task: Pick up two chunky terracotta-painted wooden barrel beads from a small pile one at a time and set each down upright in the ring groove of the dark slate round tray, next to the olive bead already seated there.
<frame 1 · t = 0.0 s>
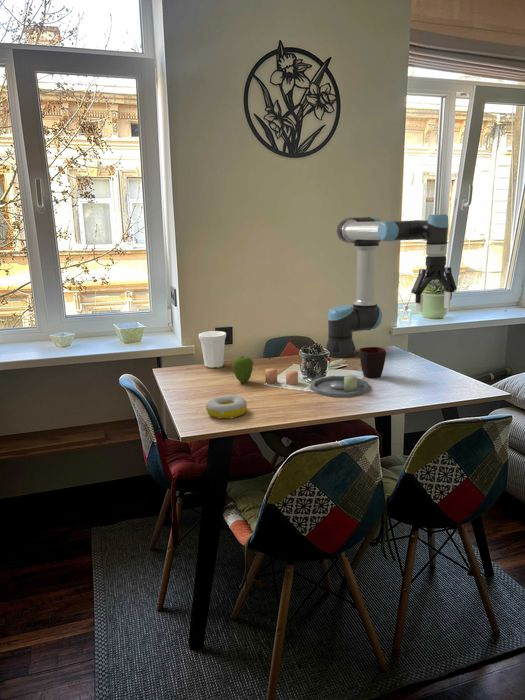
hand: (433, 309, 201), 28 cm above the table, fingers open, 13 cm apart
donut: (226, 413, 175), on the table
terracotta bead 2: (271, 382, 206), on the table
cup: (214, 366, 233), on the table
groove tray: (339, 389, 195), on the table
mug: (370, 377, 210), on the table
olive bead: (350, 391, 189), point 1 cm above the table, touching groove tray
terracotta bead 1: (292, 385, 202), on the table
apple: (243, 382, 208), on the table
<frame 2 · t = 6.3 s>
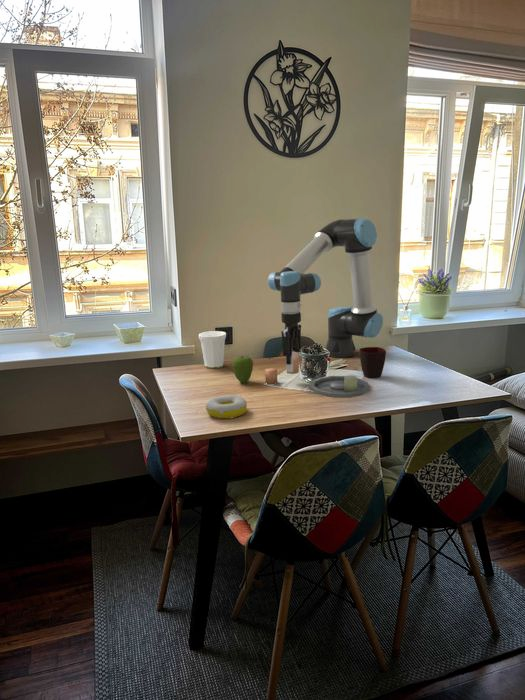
hand: (292, 369, 200), 7 cm above the table, fingers closed on terracotta bead 1, 5 cm apart
terracotta bead 1: (292, 371, 201), point 6 cm above the table, touching gripper
everything else where it was.
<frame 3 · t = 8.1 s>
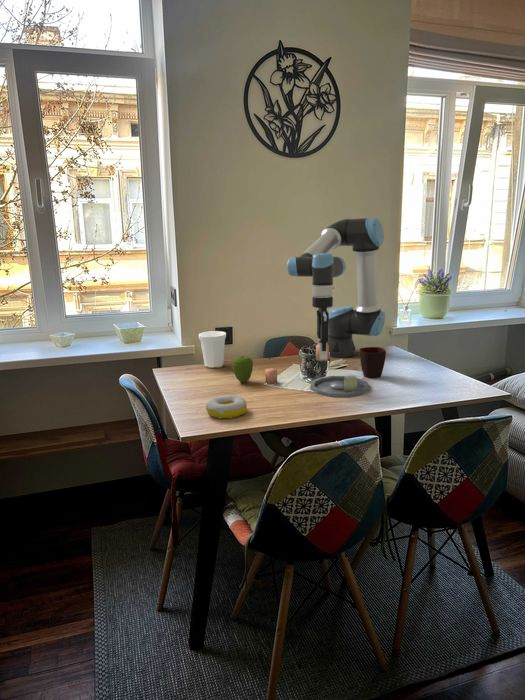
hand: (322, 357, 191), 13 cm above the table, fingers closed on terracotta bead 1, 5 cm apart
terracotta bead 1: (322, 359, 192), point 12 cm above the table, touching gripper
everything else where it was.
when the fingers open (2 cm above the table, at t = 10.3 s): terracotta bead 1 stays where it is, resting on groove tray.
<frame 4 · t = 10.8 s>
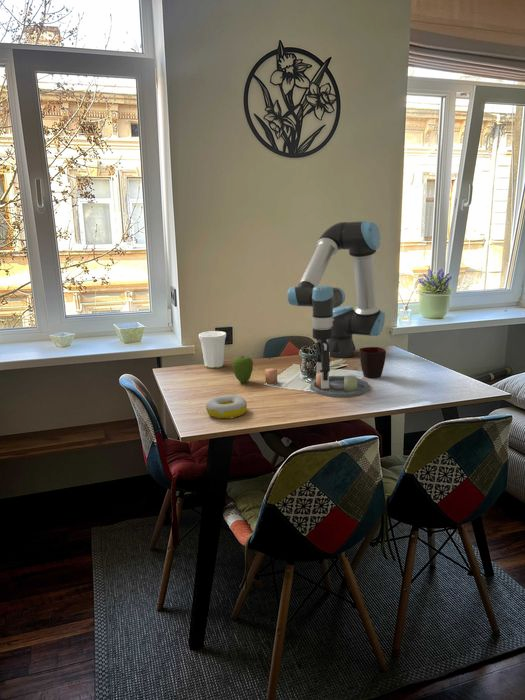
hand: (322, 383, 194), 3 cm above the table, fingers open, 11 cm apart
terracotta bead 1: (322, 388, 194), point 1 cm above the table, touching groove tray
everything else where it was.
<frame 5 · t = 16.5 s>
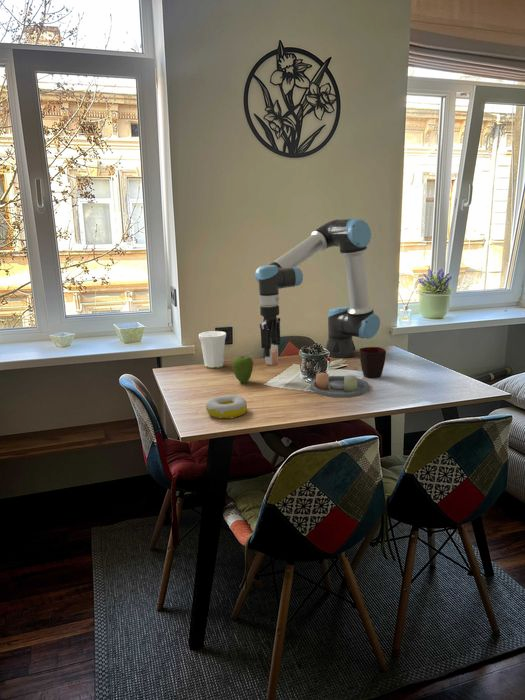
hand: (271, 362, 204), 9 cm above the table, fingers closed on terracotta bead 2, 5 cm apart
terracotta bead 2: (271, 364, 204), point 8 cm above the table, touching gripper
everything else where it was.
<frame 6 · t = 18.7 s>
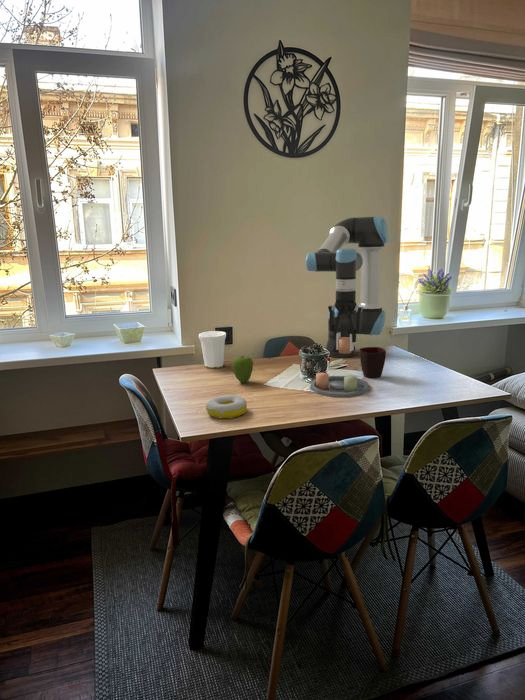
hand: (344, 349, 197), 15 cm above the table, fingers closed on terracotta bead 2, 5 cm apart
terracotta bead 2: (344, 352, 197), point 14 cm above the table, touching gripper
everything else where it was.
when the fingers open (1 cm above the table, at t = 21.3 s): terracotta bead 2 stays where it is, resting on groove tray.
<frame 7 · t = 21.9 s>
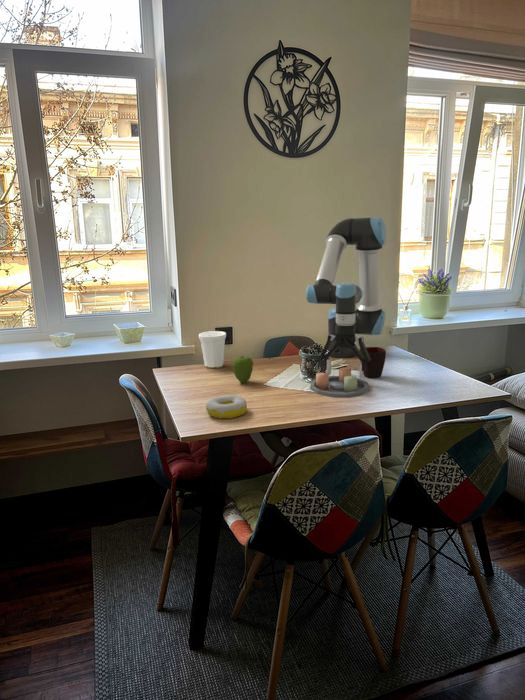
hand: (344, 376, 200), 3 cm above the table, fingers open, 13 cm apart
terracotta bead 2: (344, 382, 200), point 1 cm above the table, touching groove tray
everything else where it was.
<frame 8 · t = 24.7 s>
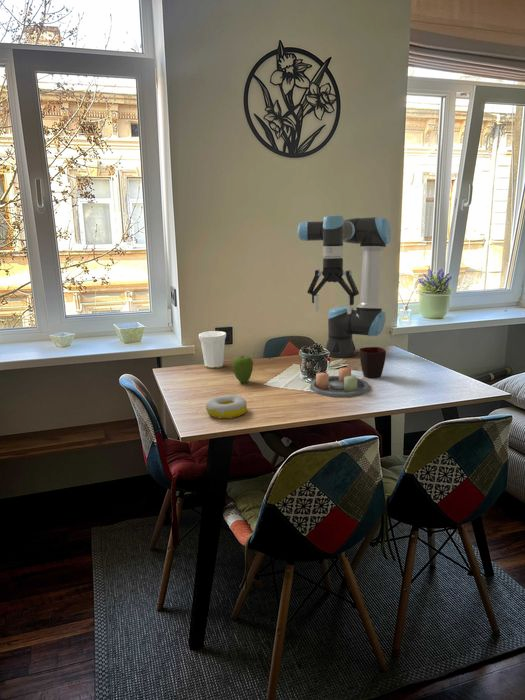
hand: (332, 312, 197), 29 cm above the table, fingers open, 13 cm apart
nothing on the table moved.
at the end: terracotta bead 1 0.3 cm from the target spot on the groove tray, point 1.0 cm above the groove tray's base; terracotta bead 2 0.2 cm from the target spot on the groove tray, point 1.0 cm above the groove tray's base; terracotta bead 1 tilted 0° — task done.
